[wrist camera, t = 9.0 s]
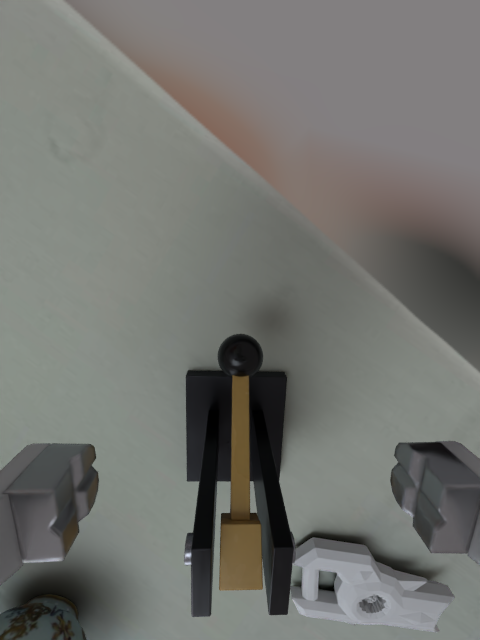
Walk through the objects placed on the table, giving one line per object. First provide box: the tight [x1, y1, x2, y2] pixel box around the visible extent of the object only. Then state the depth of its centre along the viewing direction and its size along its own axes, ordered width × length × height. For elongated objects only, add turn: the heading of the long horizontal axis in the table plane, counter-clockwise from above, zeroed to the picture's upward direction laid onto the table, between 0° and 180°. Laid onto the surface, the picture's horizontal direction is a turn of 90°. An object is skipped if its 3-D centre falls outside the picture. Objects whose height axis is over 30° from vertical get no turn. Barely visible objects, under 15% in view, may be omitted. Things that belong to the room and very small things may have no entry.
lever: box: [218, 334, 263, 590], centre depth 18 cm, size 14×3×3 cm
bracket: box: [184, 371, 296, 617], centre depth 21 cm, size 11×9×14 cm
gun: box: [290, 537, 455, 632], centre depth 31 cm, size 18×4×10 cm
